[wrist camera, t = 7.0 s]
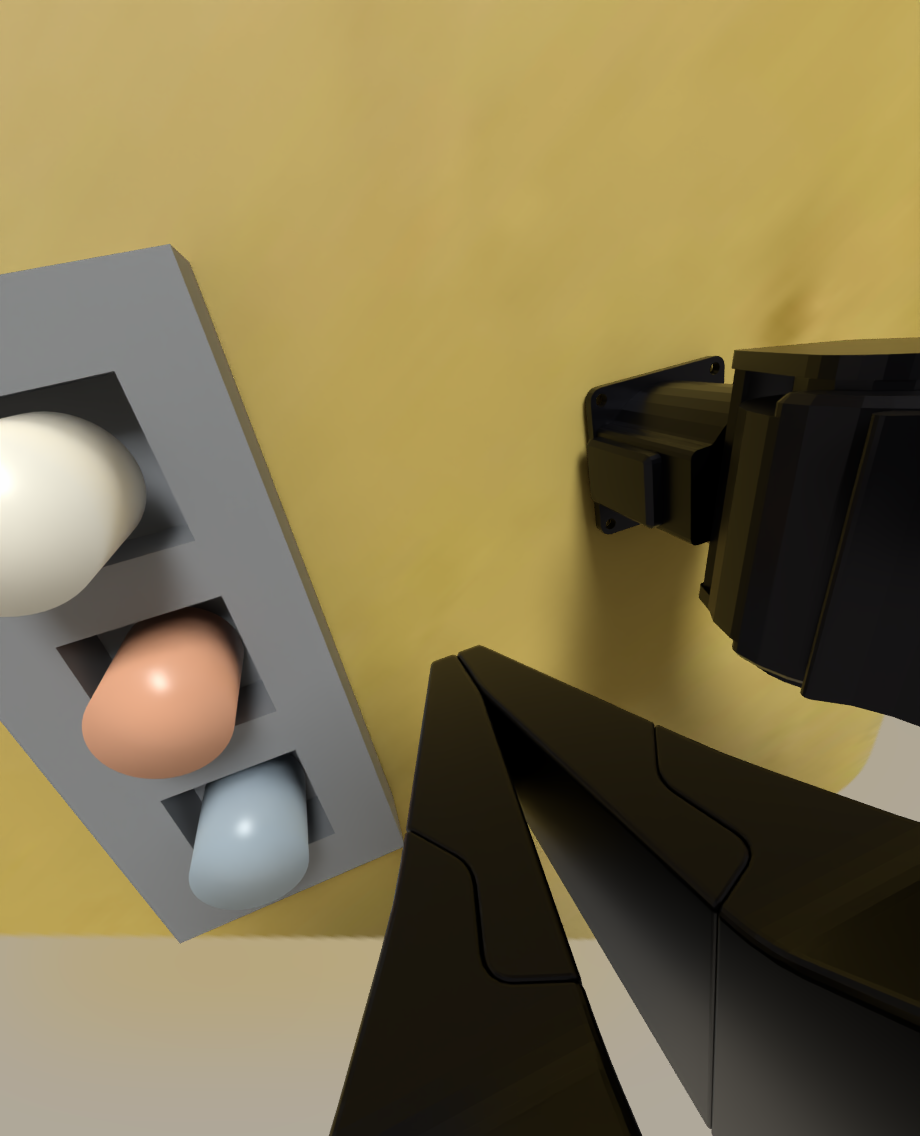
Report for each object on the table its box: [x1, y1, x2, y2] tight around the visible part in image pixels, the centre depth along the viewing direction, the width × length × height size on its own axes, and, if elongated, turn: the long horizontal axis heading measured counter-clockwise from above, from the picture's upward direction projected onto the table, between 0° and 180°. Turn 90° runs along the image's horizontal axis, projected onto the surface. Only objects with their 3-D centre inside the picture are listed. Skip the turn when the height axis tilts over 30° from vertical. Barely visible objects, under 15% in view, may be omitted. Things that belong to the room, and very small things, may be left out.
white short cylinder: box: [0, 411, 146, 617], centre depth 12 cm, size 4×4×4 cm
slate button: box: [189, 753, 309, 910], centre depth 20 cm, size 4×4×4 cm
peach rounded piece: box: [82, 607, 244, 779], centre depth 17 cm, size 4×4×4 cm
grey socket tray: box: [0, 244, 404, 943], centre depth 18 cm, size 10×24×3 cm, turn 12°
